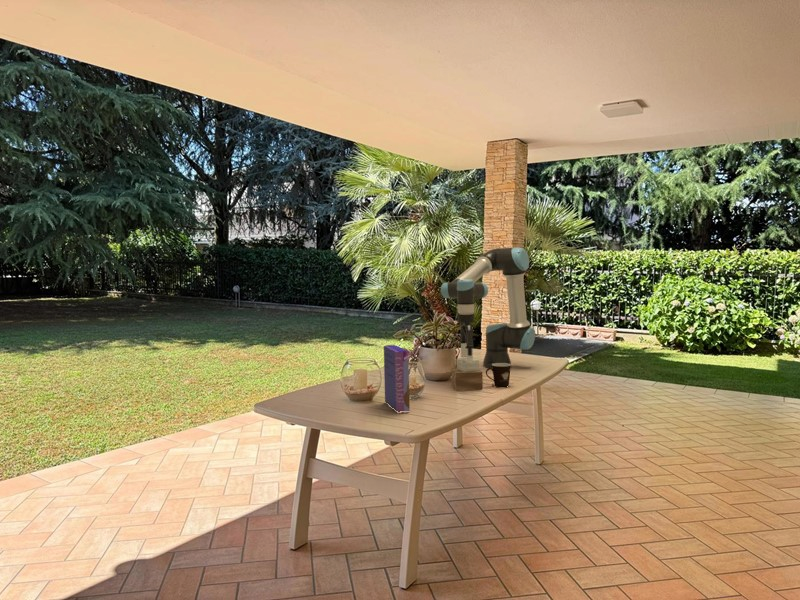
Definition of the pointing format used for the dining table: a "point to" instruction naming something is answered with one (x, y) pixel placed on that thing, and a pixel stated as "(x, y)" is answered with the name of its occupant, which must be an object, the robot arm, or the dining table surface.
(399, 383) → the cereal box
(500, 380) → the coffee mug
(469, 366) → the small box
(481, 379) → the walnut block
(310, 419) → the dining table surface
